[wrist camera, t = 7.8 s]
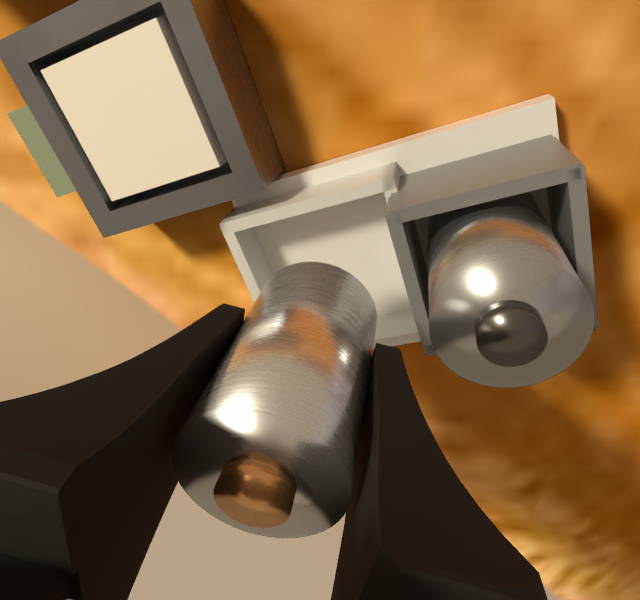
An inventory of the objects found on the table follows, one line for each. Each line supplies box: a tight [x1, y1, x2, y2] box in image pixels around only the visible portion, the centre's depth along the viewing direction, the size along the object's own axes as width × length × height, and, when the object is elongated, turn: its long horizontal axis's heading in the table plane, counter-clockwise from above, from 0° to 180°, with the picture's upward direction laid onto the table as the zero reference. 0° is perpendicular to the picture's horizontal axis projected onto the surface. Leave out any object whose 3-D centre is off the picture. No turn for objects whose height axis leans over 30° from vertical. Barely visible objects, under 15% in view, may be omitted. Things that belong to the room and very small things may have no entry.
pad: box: [40, 17, 227, 201], centre depth 15 cm, size 4×4×1 cm
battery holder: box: [219, 94, 599, 356], centre depth 16 cm, size 7×11×4 cm, turn 109°
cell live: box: [172, 262, 377, 538], centre depth 12 cm, size 4×4×6 cm
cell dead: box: [428, 192, 594, 388], centre depth 14 cm, size 4×4×6 cm
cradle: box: [0, 0, 285, 238], centre depth 16 cm, size 6×8×3 cm
